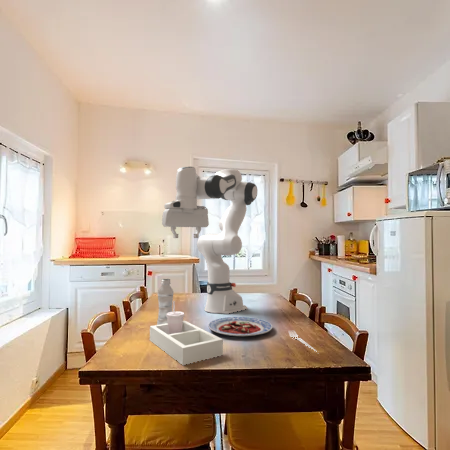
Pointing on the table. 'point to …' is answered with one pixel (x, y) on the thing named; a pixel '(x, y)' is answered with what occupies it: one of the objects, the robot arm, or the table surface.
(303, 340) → the fork
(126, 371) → the table surface
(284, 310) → the table surface
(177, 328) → the smoothie
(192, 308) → the table surface
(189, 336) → the caddy
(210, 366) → the table surface
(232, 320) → the ceramic plate
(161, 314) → the plastic bottle
